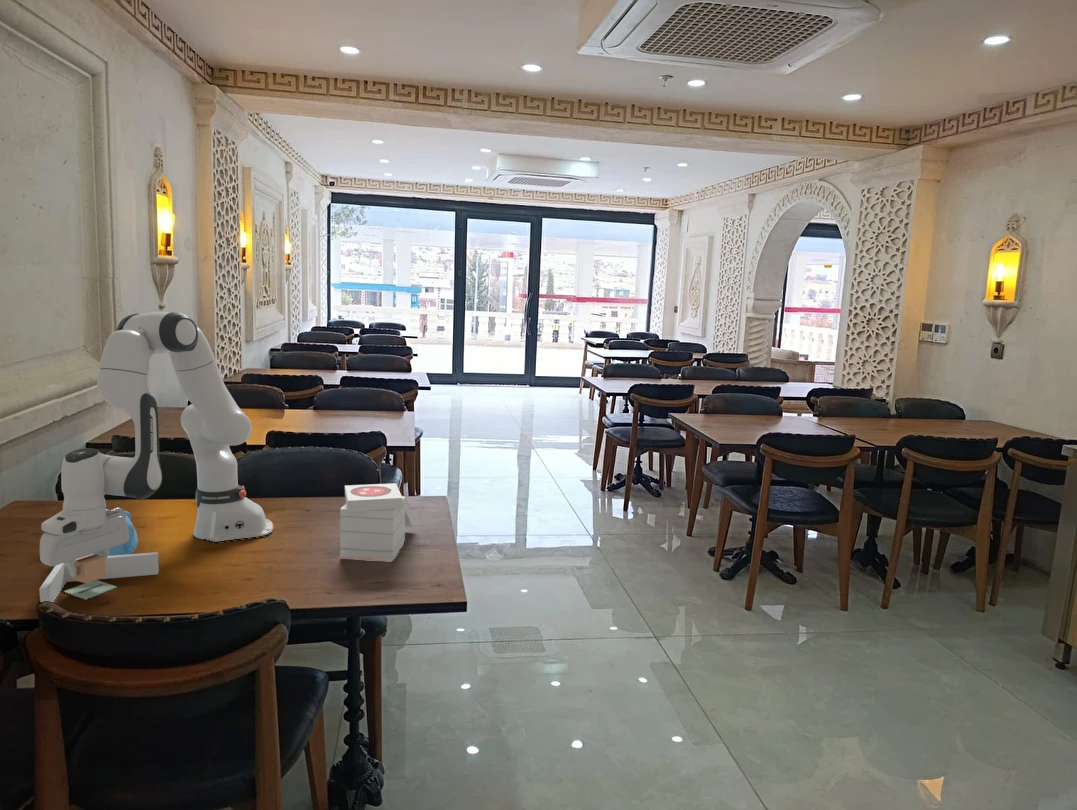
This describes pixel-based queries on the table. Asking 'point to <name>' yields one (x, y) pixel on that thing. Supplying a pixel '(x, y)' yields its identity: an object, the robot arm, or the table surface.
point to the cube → (90, 568)
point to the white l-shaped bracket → (113, 569)
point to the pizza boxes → (373, 521)
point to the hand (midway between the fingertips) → (88, 571)
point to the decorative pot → (131, 543)
